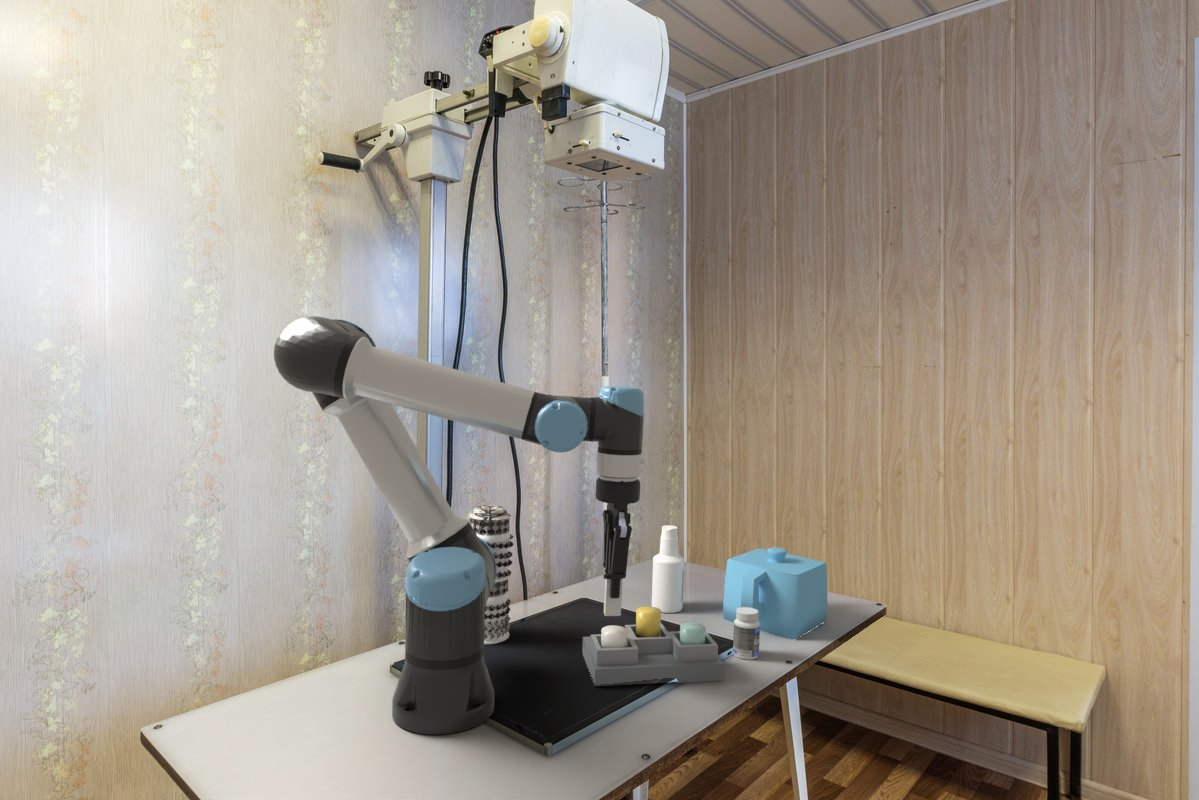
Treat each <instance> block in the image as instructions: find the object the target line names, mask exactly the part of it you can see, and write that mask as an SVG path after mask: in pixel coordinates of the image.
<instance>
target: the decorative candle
mask: <svg viewBox="0 0 1199 800" xmlns="http://www.w3.org/2000/svg"><path fill="white" fill-rule="evenodd" d="M467 516H468V518H469V523H470V525H471V526H472V528H473V530H474V531H475V533H476V535H477V536H478V537H479V538H481V539H482V540H484V541H485V542H486V543H487V544H488V545H489V547H490V548H491V550H492V552H493V554H494V557H495V561H496V578H495V582H494V586H493V588H492V590H491V592H490V595H489V597H488V600H487V603H486V606H485V619H484V645H494V644H498V643H502V642H504V641H506V640H507V639H509V637H510V632H509V631H510V628H511V625H510V621H511V617H510V616H509V614H510V611H511V608H510V604H511V601H512V600H511V599H510V590H509V579H510V577H511V575H512V571H511V570H510V569H508V568H509V567H510V566H511V565H512V564H513V560H510V558H511V557H513V552H511V551H510V550H509V549H511V548H512V547H513V546H514V542H513V541H512V539H513V538H514V535H512V534H511V530H510V517H512V515H511V513H508V512H507V510H506V509H505V507H503V506H501V505H495V504H485V505H479V506H476V507H474V509H473V511H472V512H471V513H469V514H468V515H467Z"/></svg>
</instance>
